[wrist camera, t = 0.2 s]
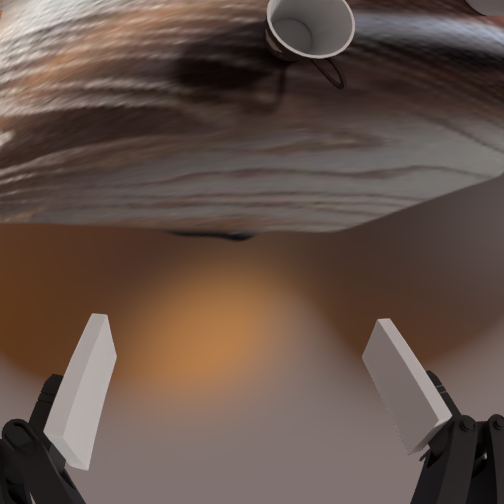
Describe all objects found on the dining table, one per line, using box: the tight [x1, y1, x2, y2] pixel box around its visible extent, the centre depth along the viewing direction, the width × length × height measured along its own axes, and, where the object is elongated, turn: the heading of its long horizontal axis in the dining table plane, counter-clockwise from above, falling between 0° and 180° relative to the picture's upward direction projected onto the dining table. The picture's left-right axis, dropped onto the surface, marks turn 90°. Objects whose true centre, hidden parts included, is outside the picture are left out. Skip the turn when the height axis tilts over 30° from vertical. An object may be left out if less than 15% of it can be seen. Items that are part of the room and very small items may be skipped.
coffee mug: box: [264, 0, 355, 89], centre depth 27 cm, size 12×9×10 cm
